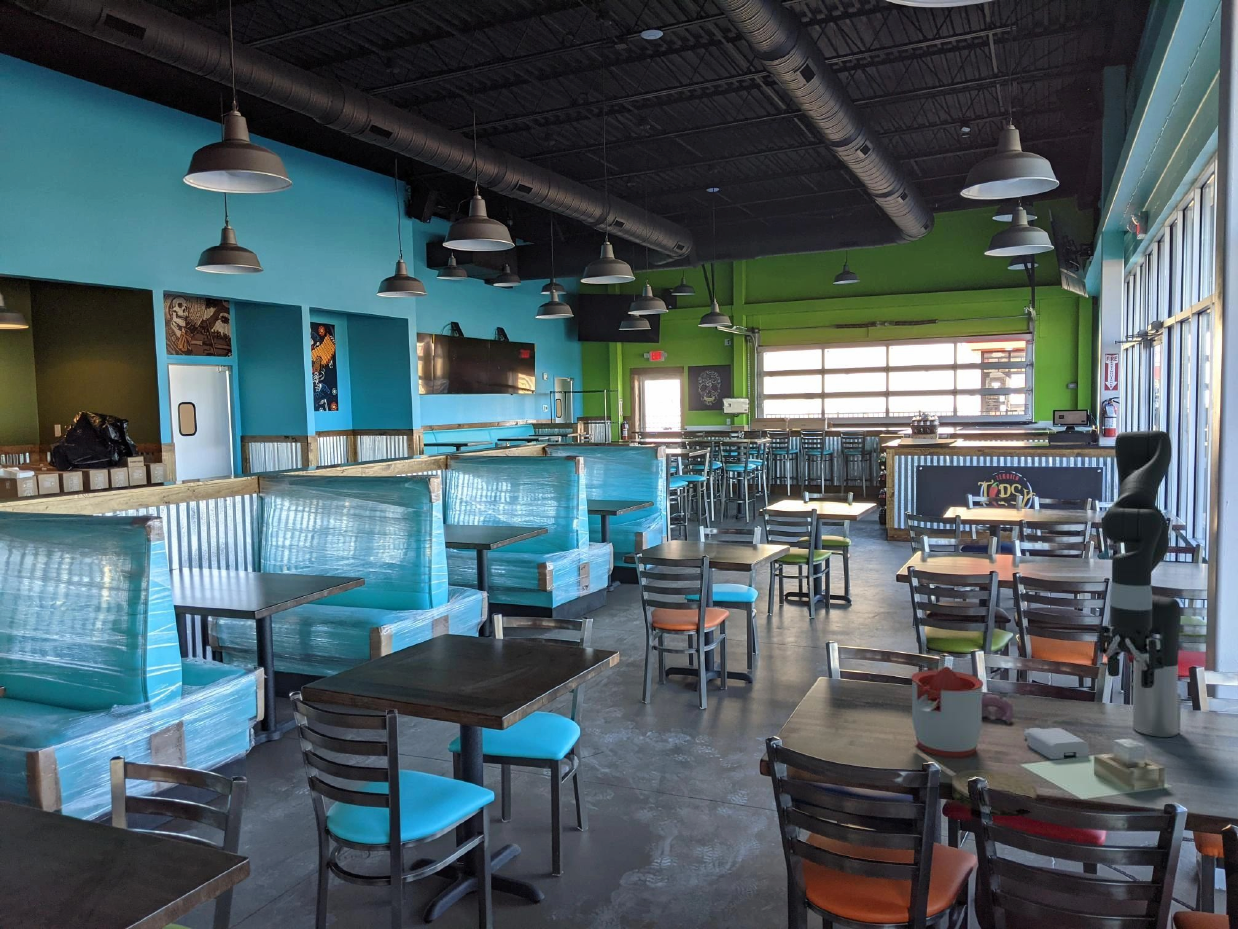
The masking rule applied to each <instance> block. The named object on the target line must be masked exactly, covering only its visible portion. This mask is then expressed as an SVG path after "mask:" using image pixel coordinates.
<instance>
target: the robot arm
mask: <svg viewBox="0 0 1238 929" xmlns="http://www.w3.org/2000/svg"><path fill="white" fill-rule="evenodd" d="M1115 437H1116V438H1115V440H1114V441H1115V442H1114V452H1115V464H1116V469H1117V476H1118V483H1119V484H1118V485H1119V490H1118V491H1119V492H1118V495H1117V496H1118V497H1117V499H1116V500H1115V501H1114V502H1113V504H1111V505H1110V507H1109V508H1107V511H1106V512H1105V514H1104V515H1103V518H1102V523H1101V528H1102V533H1103V534H1104V536H1105V537H1106V538H1107V540H1109V541H1111V542H1115V543H1123V547H1124V548H1123V549H1124V553H1118V554H1115V555H1114V556H1112V560H1111V584H1110V587H1111V588H1110V592H1109V593H1110V595H1109V596H1110V597H1109V598H1110V599H1109V600H1110V601H1109V602H1110V603H1109V624H1108V625H1107V624H1105V625H1101V626H1100V627H1099V628H1100V629H1099V639H1098V640H1099V642H1098V651H1099V653H1100V654H1104V655H1105V657H1106V659H1107V661H1106V662H1107V665H1106V666H1107V667H1106V668H1107V675H1108V676H1110V677H1112V678H1113V677H1118V676H1119V675H1120V665H1121V664H1120V663H1121V662H1120V660H1121V659H1120V658H1119V657H1120V655H1122V653H1127V654H1128V655H1132V656H1133V682H1132V683H1133V684H1132V686H1133V688H1132V689H1133V690H1132V691H1133V692H1132V694H1133V695H1132V728H1133V730H1134V731H1137V732H1138V733H1141V734H1145V735H1147V736H1152V737H1157V738H1158V737H1161V738H1170V737H1171V738H1172V737H1175V736H1177V735H1178V734H1180V733H1181V718H1182V717H1181V714H1182V713H1181V710H1182V709H1181V707H1182V705H1181V704H1182V696H1181V694H1180V693H1179V692H1178V691H1179V690H1178V689H1179V688H1178V687H1179V686H1178V682H1179V680H1178V679H1179V649H1180V648H1179V647H1180V646H1179V645H1180V629H1181V620H1182V618H1181V617H1182V616H1181V614H1182V611H1181V610H1182V609H1181V605H1180V603H1179V601H1178V599H1176V598H1173V597H1168V596H1167V597H1166V596H1158V595H1153V591H1152V572H1153V571H1154V570H1155V569H1156V568H1157V567H1158V565H1159V563H1160V562H1161V561H1162V560H1163V559H1164V557H1165V556H1166V554H1167V552H1168V550H1169V544H1170V542H1169V529H1168V527H1169V526H1168V520H1167V519H1166V516H1165V515H1164V514H1163V512H1162V511H1161V509H1159V507H1158V506H1157V505H1156V503H1157V495H1158V492H1159V488H1160V486H1161V484H1162V482H1163V480H1164V478H1165V476H1166V474H1167V471H1168V470H1169V467H1170V465H1171V462H1172V452H1173V450H1172V442H1171V437H1170V435H1169V434H1168V433H1167V432H1166V431H1163V430H1135V431H1123V432H1119V433H1118V434H1117V435H1116V436H1115ZM1149 634H1153V635H1160V636H1161V638H1157V639H1155V638H1151V637H1150V635H1149Z"/></svg>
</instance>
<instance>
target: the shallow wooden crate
mask: <svg viewBox="0 0 1238 929" xmlns="http://www.w3.org/2000/svg"><path fill="white" fill-rule="evenodd" d="M1093 756H1094V755H1093ZM1165 769H1166V768H1165V766H1162V765H1160V764H1158V763H1155V762H1154V761H1151V760H1149V759H1148V758H1145V766H1144V767H1137V768H1129V769H1128V768H1126V767H1124V766H1122V765H1120V764H1118V763H1116V762H1114V761H1113V753H1106V754H1104V755H1102V754H1096V756H1094V774H1095V775H1097V776H1099V777H1100V778H1102V779H1104V780H1106V781H1108V782H1110V783H1112V784H1114V785H1116V786H1118V787H1120V788H1122V789H1124V790H1126V791H1135V790H1143V789H1150V788H1157V787H1164V783H1165V778H1166V777H1165V775H1166V774H1165V771H1166V770H1165Z"/></svg>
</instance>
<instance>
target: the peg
mask: <svg viewBox="0 0 1238 929" xmlns="http://www.w3.org/2000/svg"><path fill="white" fill-rule="evenodd" d="M1112 741H1113V742H1112V743H1113V745H1112V746H1113V747H1112V748H1113V749H1112V750H1113V751H1112V752H1113V761H1114V762H1116V763H1118V764H1120V765H1122V766H1124V767H1126V768H1128V769H1129V768H1137V767H1144V766H1145V759H1146V757H1145V756H1146V755H1145V754H1146V745H1145V744H1143V743H1141V742H1138V741H1137V740H1134V739H1132V738H1122V739H1114V740H1112Z"/></svg>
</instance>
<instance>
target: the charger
mask: <svg viewBox="0 0 1238 929" xmlns="http://www.w3.org/2000/svg"><path fill="white" fill-rule="evenodd" d="M1022 733H1023V735H1024V736H1025V737H1026V746H1028V747H1030V748H1031V749H1033V750H1035V751H1036V752H1038V753H1040V754H1041V755H1043V756H1045V757H1046V758H1048V759H1050V760H1062V759H1065V756H1075V758H1078V757H1086V756H1090V755H1089V754H1090V752H1089V751H1090V750H1089V749H1090V748H1089V746H1090V745H1089V743H1088V742H1087V741H1085V740H1083V739H1081V738H1080V737H1078V736H1075V735H1074V734H1072V733H1070V732H1068V731H1067V730H1064V729H1062V728H1061V727H1052V728H1040V727H1033V728H1032V727H1031V728H1024V732H1022Z"/></svg>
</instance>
